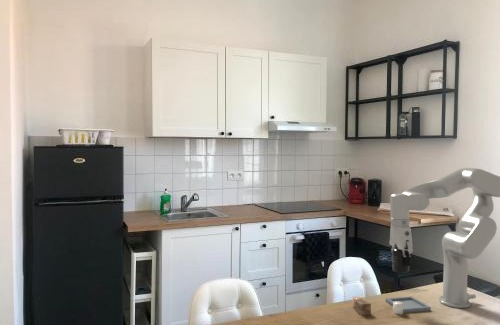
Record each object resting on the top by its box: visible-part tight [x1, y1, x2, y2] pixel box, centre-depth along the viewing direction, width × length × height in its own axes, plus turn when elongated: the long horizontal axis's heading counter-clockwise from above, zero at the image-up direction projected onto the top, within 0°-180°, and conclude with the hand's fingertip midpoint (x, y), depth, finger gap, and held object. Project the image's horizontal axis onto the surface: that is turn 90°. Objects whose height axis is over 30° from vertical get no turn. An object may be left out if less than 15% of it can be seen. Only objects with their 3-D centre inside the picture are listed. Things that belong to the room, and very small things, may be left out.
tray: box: [385, 295, 432, 314], centre depth 176 cm, size 13×13×2 cm
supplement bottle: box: [391, 244, 410, 274], centre depth 174 cm, size 7×7×12 cm
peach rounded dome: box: [352, 296, 364, 310], centre depth 173 cm, size 4×4×4 cm
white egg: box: [392, 301, 404, 315], centre depth 168 cm, size 4×4×4 cm
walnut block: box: [354, 299, 372, 316], centre depth 167 cm, size 4×4×4 cm
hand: (400, 263), depth 175 cm, fingers closed on supplement bottle, 6 cm apart
